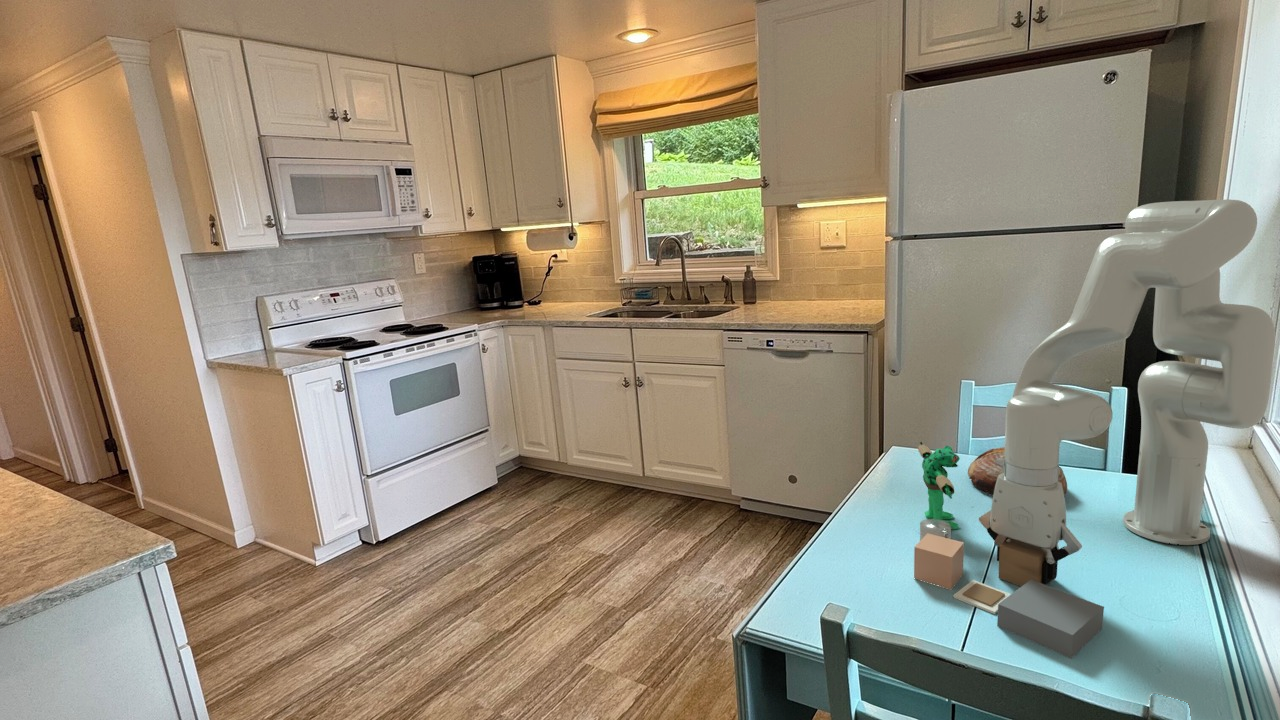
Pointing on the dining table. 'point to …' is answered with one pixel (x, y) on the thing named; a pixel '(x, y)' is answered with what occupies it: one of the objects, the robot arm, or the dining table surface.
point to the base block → (1050, 618)
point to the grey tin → (935, 528)
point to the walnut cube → (1020, 562)
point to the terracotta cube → (938, 560)
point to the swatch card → (981, 596)
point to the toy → (938, 480)
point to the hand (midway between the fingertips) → (1025, 573)
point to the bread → (995, 471)
